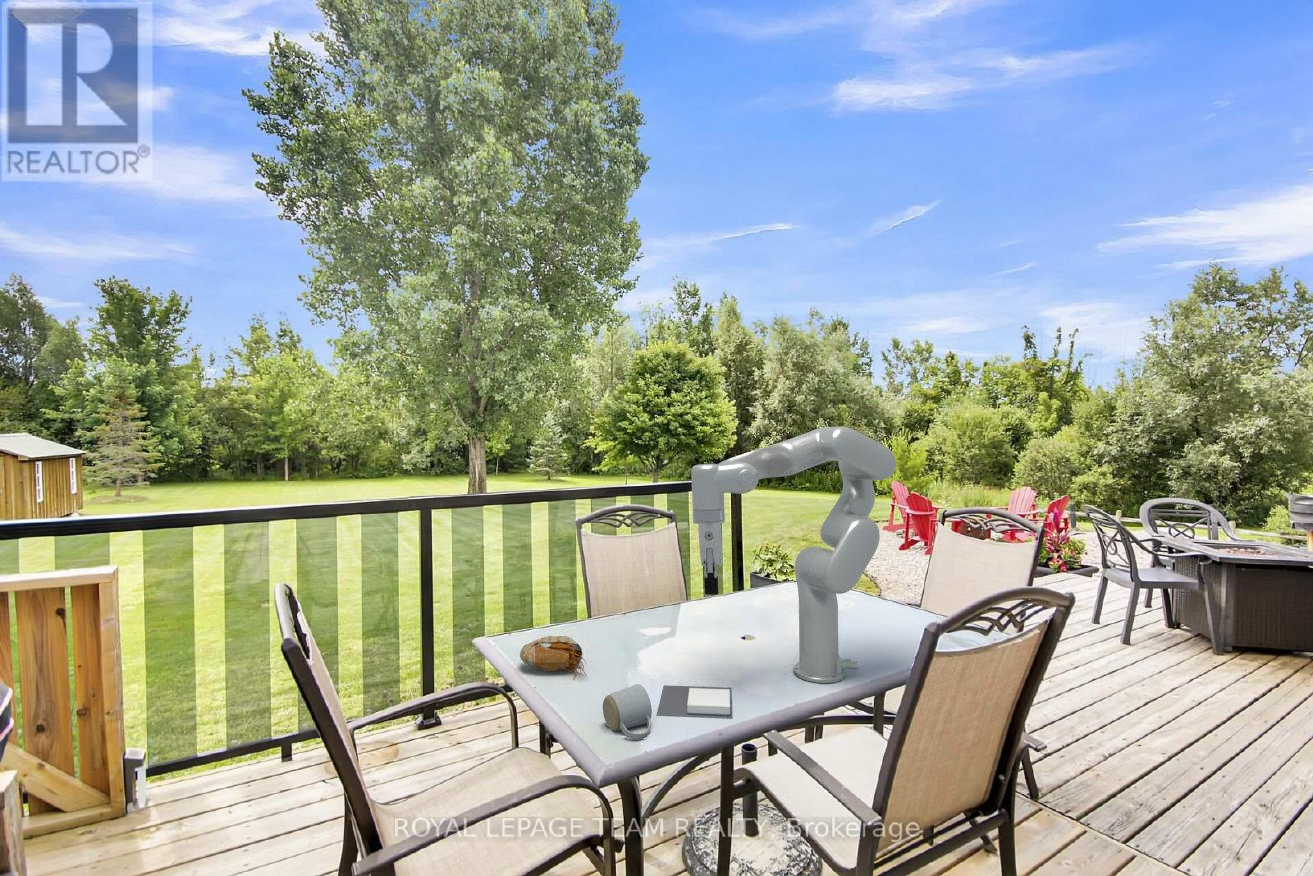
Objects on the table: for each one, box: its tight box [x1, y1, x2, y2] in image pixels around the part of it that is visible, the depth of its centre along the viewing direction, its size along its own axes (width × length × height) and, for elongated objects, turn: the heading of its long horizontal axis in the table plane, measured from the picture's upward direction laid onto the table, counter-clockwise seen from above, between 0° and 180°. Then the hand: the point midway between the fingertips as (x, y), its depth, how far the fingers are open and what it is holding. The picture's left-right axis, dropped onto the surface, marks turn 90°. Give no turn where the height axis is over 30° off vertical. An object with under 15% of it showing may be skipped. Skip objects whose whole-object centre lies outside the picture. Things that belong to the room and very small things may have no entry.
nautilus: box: [519, 635, 588, 681], centre depth 153 cm, size 8×22×15 cm
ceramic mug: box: [602, 683, 653, 741], centre depth 121 cm, size 11×8×8 cm
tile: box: [687, 688, 730, 716], centre depth 130 cm, size 9×2×9 cm
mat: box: [656, 684, 734, 720], centre depth 132 cm, size 16×16×1 cm
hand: (711, 593), depth 141 cm, fingers closed
